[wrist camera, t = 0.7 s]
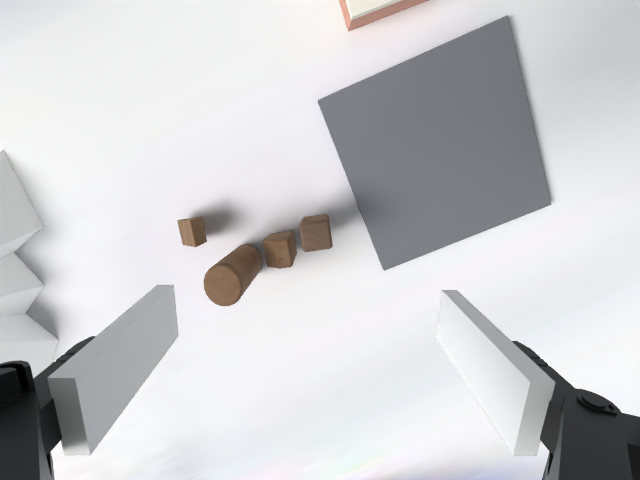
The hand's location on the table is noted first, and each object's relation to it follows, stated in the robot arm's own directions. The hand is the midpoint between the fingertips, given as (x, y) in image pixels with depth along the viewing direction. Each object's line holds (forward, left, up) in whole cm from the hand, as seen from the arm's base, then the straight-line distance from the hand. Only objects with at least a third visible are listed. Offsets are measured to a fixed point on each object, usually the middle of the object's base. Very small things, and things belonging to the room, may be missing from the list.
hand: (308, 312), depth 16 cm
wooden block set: (0, -7, -25) cm, 26 cm away
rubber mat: (-1, +17, -25) cm, 30 cm away
